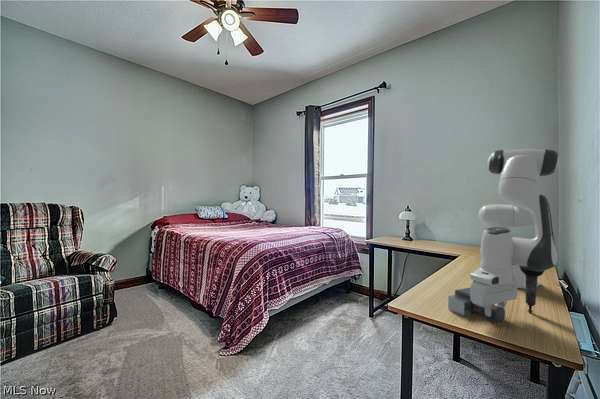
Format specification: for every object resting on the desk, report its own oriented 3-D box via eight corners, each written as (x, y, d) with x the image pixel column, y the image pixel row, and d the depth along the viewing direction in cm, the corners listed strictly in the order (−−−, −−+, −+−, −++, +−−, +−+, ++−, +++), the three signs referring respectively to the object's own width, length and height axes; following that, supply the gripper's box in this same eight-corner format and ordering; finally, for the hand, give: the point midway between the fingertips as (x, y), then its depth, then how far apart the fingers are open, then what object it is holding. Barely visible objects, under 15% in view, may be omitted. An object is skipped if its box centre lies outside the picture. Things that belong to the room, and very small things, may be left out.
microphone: (542, 312, 90) (544, 258, 90) (544, 319, 85) (546, 262, 85) (517, 306, 95) (519, 255, 94) (517, 312, 90) (519, 258, 89)
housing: (477, 302, 98) (478, 285, 98) (494, 309, 92) (494, 291, 92) (448, 309, 92) (448, 291, 92) (463, 316, 86) (464, 297, 86)
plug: (462, 303, 97) (462, 291, 97) (504, 320, 84) (504, 307, 84) (454, 304, 96) (455, 293, 95) (496, 323, 82) (496, 309, 82)
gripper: (503, 269, 91) (502, 305, 92) (466, 274, 84) (465, 314, 84) (524, 274, 86) (522, 313, 86) (486, 281, 78) (485, 323, 78)
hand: (494, 314), depth 85 cm, fingers closed on plug, 4 cm apart
